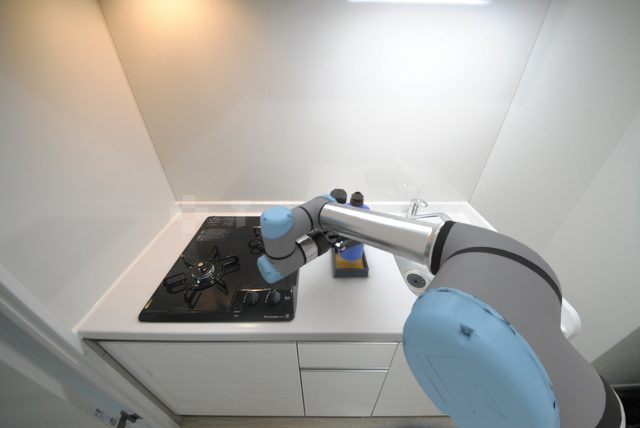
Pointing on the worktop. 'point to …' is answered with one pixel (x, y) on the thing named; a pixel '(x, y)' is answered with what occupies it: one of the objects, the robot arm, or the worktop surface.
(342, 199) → the coffee jar
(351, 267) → the dark grey shallow tray
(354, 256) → the water bottle
